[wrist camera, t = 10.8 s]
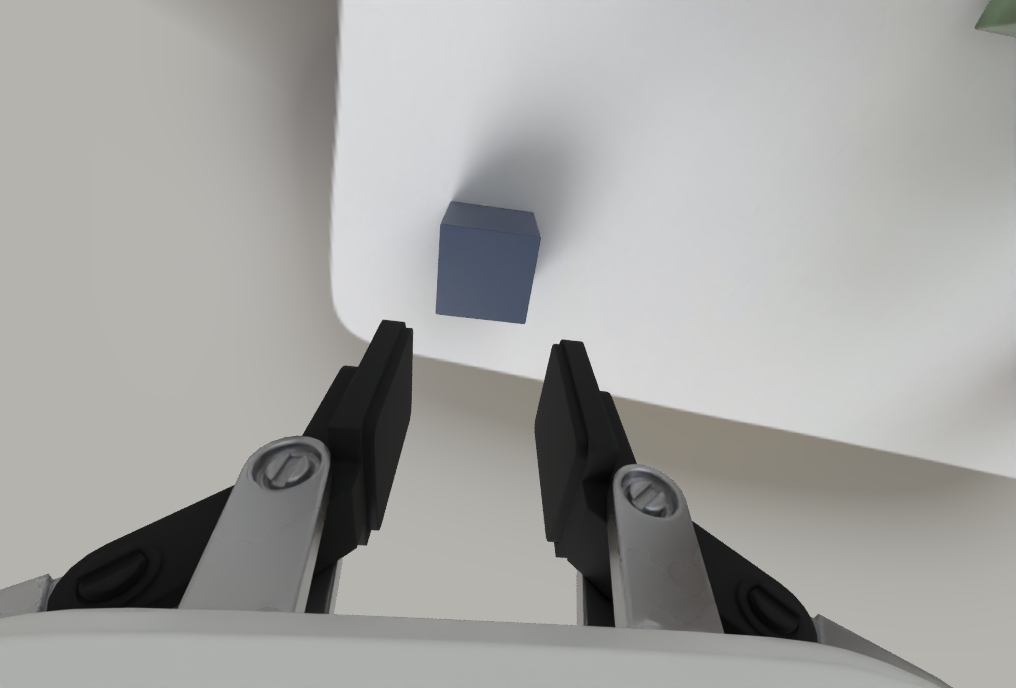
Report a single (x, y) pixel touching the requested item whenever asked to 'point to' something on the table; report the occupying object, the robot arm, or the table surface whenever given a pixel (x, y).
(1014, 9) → the drawer
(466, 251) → the block
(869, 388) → the table surface
